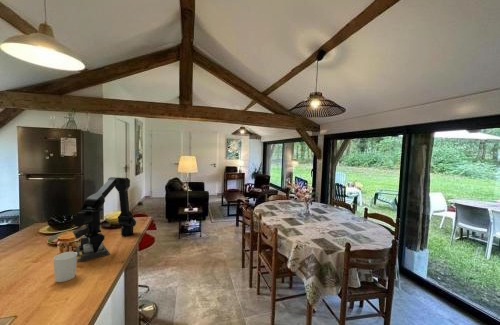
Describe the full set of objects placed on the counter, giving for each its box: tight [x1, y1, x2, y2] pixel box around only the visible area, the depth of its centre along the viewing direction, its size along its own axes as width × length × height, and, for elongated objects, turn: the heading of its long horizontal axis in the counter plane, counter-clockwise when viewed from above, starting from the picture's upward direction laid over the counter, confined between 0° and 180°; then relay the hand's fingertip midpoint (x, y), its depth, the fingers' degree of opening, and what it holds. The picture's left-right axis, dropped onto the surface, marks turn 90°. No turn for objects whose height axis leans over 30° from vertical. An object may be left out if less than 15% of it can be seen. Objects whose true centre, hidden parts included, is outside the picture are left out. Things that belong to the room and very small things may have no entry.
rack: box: [76, 235, 111, 263], centre depth 122 cm, size 14×21×6 cm, turn 46°
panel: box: [83, 241, 104, 255], centre depth 117 cm, size 8×2×6 cm, turn 136°
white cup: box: [53, 251, 78, 283], centre depth 96 cm, size 8×8×10 cm
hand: (93, 249), depth 117 cm, fingers open, 9 cm apart
